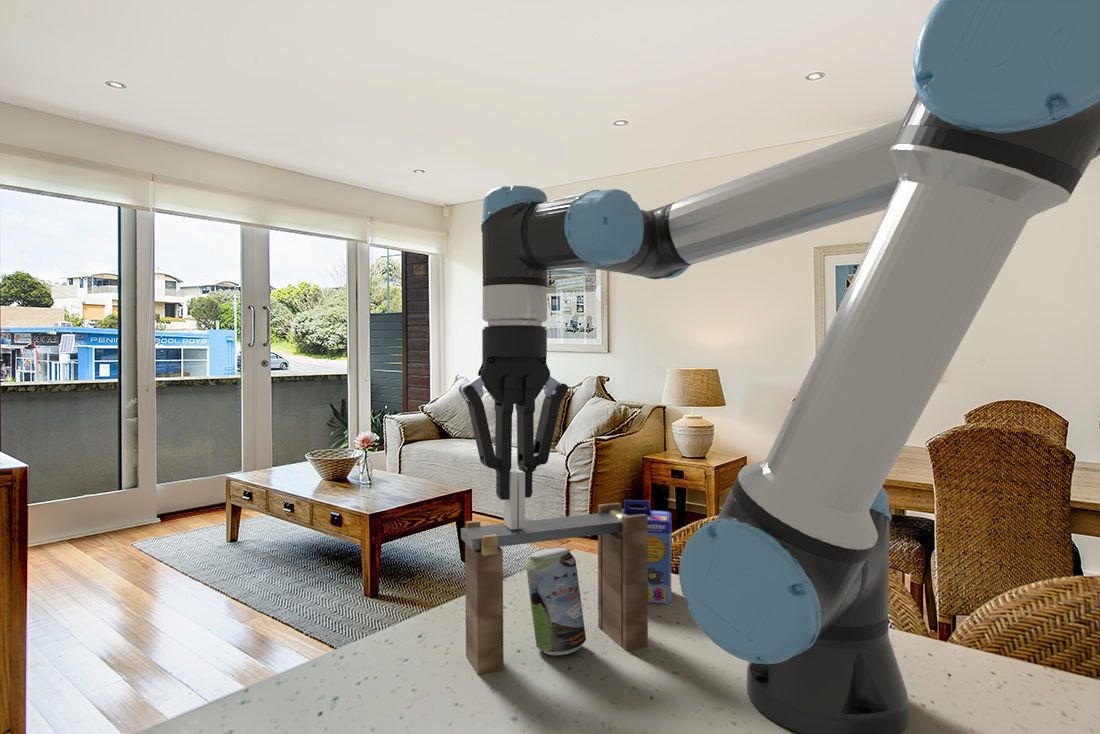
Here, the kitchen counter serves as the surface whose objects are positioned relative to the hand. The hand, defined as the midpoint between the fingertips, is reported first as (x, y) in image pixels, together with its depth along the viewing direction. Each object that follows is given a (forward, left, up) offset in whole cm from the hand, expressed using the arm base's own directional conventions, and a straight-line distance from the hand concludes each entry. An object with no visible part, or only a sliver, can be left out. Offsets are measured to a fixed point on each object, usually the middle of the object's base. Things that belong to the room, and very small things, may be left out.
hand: (514, 525), depth 78 cm
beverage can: (-3, -4, -16) cm, 16 cm away
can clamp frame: (-3, -4, -15) cm, 16 cm away
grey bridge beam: (-2, -4, -2) cm, 5 cm away
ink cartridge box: (-2, -25, -16) cm, 30 cm away
